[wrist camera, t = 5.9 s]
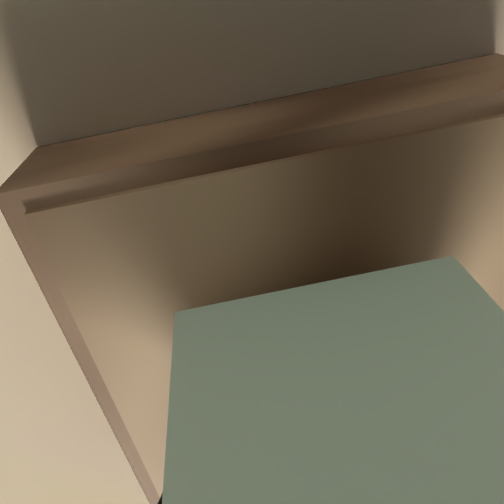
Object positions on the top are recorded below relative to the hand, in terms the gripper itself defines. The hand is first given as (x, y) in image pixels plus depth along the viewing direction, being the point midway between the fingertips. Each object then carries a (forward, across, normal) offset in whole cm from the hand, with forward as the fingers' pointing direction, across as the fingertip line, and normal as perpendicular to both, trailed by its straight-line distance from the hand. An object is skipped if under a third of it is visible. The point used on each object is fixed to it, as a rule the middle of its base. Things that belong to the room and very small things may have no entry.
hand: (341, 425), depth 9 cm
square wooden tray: (+4, 0, 0) cm, 4 cm away
